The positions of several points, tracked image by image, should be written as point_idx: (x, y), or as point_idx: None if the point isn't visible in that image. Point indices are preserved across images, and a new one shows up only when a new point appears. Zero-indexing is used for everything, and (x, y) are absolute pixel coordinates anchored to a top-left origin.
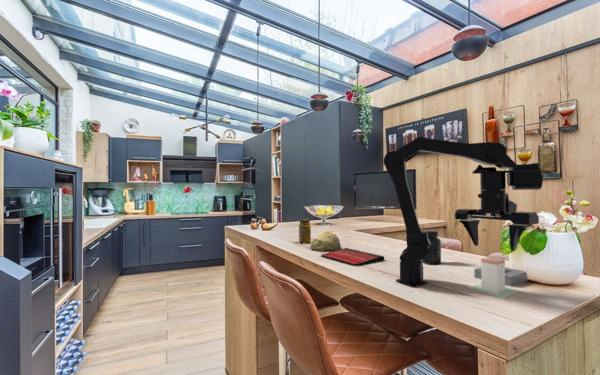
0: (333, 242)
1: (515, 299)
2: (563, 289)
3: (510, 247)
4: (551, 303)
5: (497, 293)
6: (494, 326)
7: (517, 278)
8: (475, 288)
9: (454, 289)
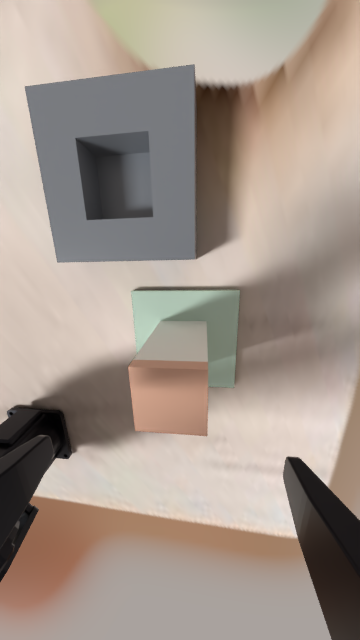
0: None
1: (250, 355)
2: (329, 77)
3: (293, 514)
4: (328, 310)
5: (209, 368)
6: (281, 514)
7: (195, 199)
8: None
9: (122, 399)
